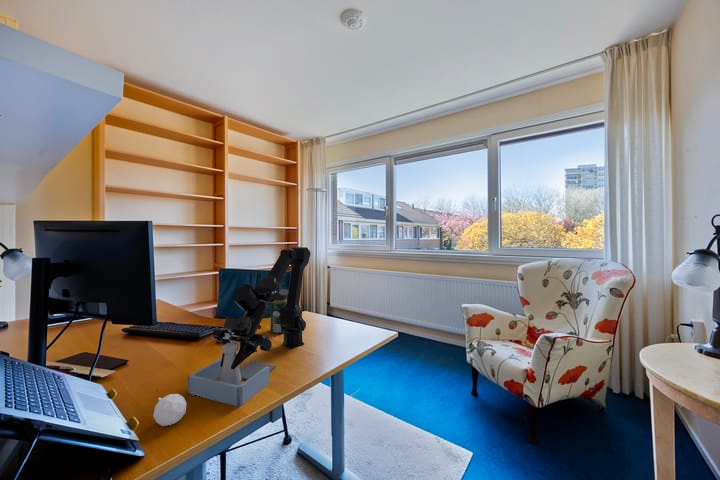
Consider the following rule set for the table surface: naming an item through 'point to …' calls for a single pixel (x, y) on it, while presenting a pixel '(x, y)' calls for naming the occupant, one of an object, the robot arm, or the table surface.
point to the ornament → (169, 409)
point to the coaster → (253, 369)
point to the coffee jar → (278, 311)
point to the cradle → (225, 385)
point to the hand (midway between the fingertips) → (226, 367)
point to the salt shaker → (230, 364)
